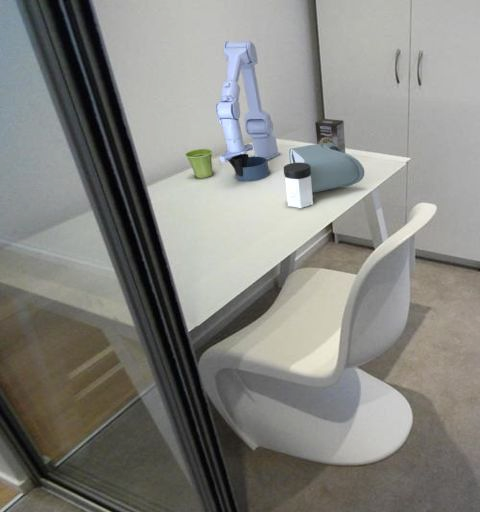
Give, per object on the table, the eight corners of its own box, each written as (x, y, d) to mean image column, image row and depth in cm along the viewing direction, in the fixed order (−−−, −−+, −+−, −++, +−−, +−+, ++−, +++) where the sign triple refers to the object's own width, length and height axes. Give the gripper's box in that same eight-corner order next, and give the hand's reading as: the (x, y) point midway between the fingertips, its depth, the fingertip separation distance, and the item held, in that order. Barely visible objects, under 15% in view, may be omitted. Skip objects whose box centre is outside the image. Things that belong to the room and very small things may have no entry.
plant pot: (221, 170, 166) (216, 148, 162) (211, 180, 158) (205, 157, 154) (198, 170, 167) (192, 148, 163) (186, 179, 159) (180, 157, 155)
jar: (281, 205, 137) (277, 169, 131) (294, 196, 143) (290, 161, 137) (307, 209, 134) (303, 172, 128) (318, 199, 141) (316, 164, 135)
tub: (251, 167, 169) (248, 154, 166) (275, 171, 164) (273, 158, 161) (229, 178, 160) (226, 165, 157) (254, 182, 155) (252, 169, 152)
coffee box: (318, 163, 170) (314, 122, 161) (326, 158, 175) (322, 118, 166) (339, 166, 167) (335, 124, 158) (346, 161, 172) (343, 119, 163)
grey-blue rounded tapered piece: (292, 179, 157) (287, 144, 150) (340, 169, 164) (337, 135, 158) (313, 200, 140) (309, 162, 133) (366, 188, 148) (364, 151, 141)
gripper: (227, 145, 142) (236, 183, 149) (256, 133, 153) (263, 169, 160) (211, 142, 145) (220, 180, 152) (241, 131, 156) (248, 167, 163)
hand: (241, 175), depth 157 cm, fingers closed on tub
